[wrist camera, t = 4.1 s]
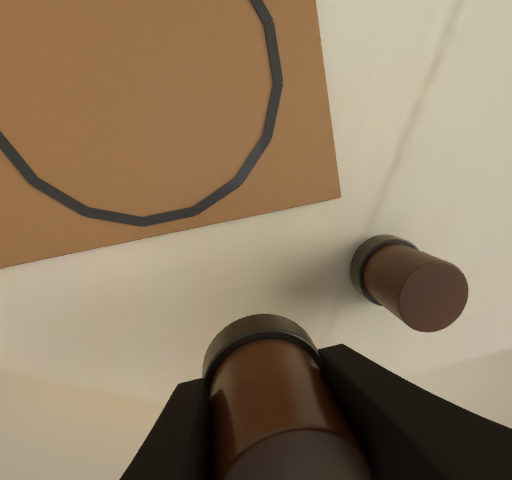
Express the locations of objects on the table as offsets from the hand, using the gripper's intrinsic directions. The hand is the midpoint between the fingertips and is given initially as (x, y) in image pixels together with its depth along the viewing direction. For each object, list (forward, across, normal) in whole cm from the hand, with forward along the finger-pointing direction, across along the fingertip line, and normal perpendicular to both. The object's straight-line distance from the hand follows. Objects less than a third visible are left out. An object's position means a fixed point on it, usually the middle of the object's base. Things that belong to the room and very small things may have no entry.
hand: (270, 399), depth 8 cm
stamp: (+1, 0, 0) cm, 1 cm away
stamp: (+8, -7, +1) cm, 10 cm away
